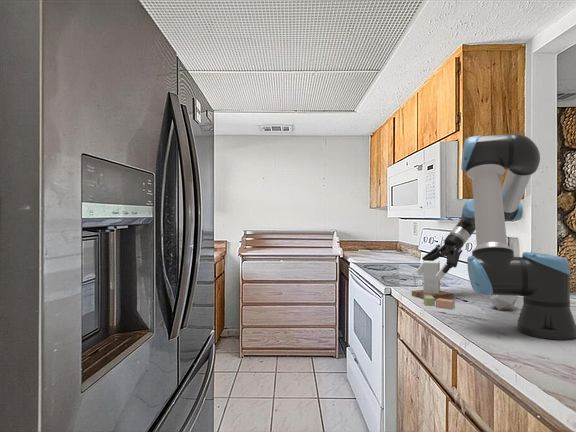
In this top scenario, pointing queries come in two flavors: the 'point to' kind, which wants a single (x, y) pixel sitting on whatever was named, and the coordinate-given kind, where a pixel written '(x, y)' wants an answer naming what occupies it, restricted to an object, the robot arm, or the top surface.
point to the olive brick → (429, 300)
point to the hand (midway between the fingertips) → (427, 275)
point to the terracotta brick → (445, 303)
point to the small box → (431, 277)
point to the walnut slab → (441, 294)
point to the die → (503, 301)
